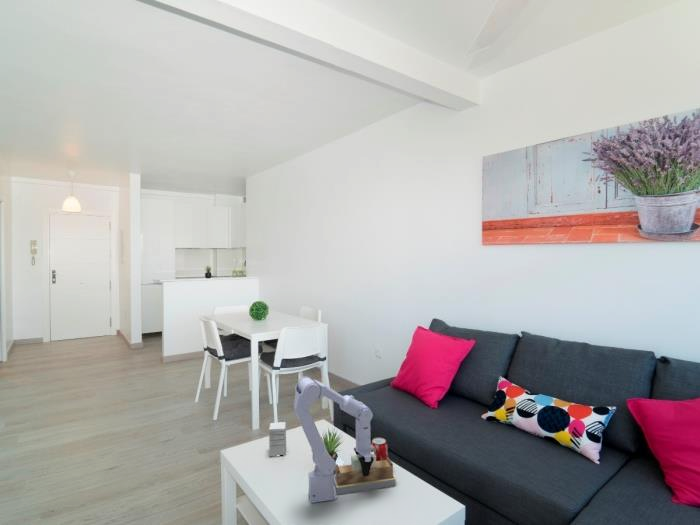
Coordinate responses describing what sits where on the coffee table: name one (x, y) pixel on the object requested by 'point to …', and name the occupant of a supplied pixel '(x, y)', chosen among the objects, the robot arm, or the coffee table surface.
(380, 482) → the dock
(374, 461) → the cream cube
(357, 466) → the block
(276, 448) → the supplement box
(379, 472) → the brown wooden long block
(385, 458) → the soda can
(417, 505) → the coffee table surface
